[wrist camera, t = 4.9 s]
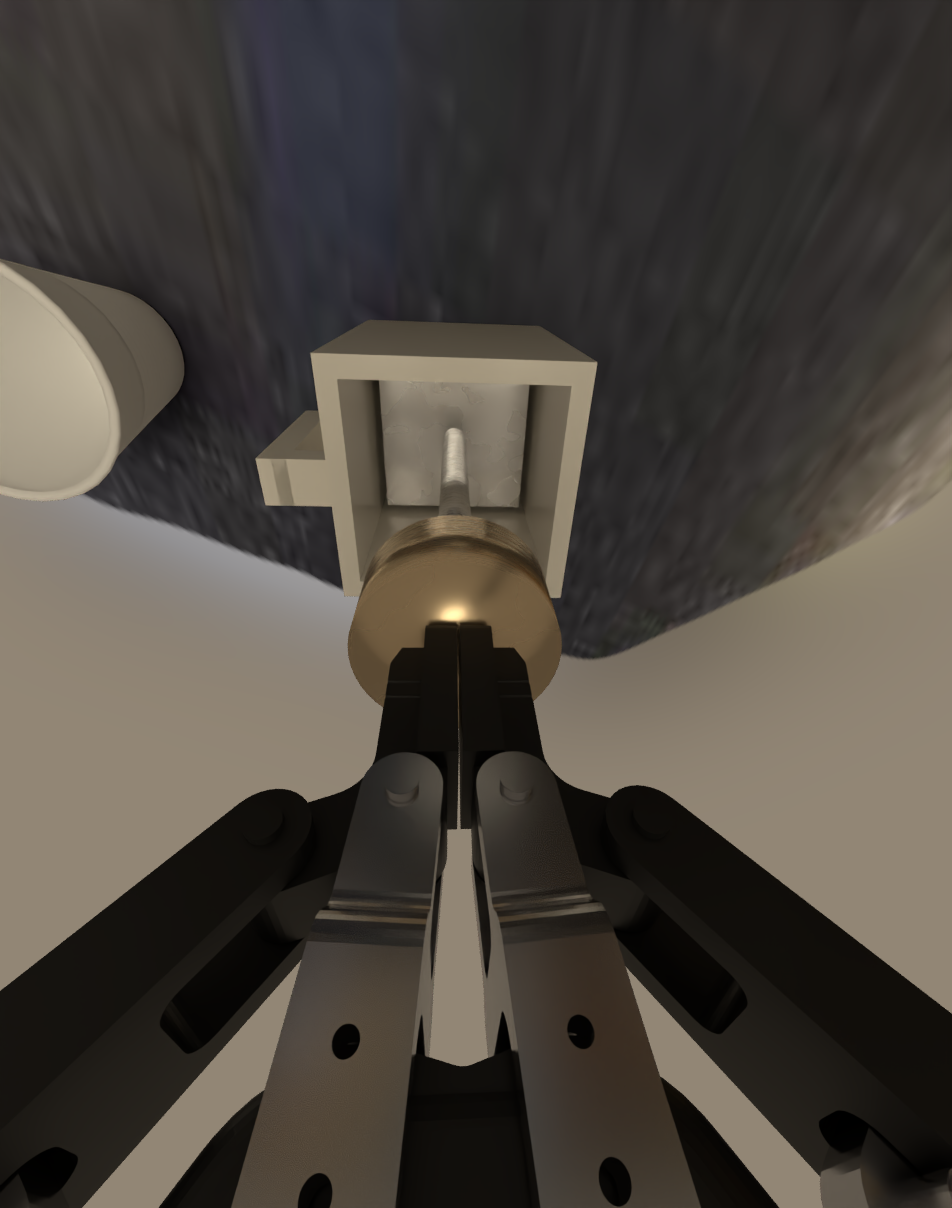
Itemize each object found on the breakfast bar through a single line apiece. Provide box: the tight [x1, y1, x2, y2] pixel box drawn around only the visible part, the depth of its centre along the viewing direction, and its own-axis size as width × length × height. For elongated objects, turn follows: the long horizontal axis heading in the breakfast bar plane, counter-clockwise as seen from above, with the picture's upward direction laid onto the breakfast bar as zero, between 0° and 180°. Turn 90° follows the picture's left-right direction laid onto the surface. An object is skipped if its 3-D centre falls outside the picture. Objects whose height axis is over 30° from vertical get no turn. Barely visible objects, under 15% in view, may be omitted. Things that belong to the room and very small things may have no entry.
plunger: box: [348, 380, 562, 728], centre depth 19 cm, size 8×8×19 cm
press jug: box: [255, 320, 597, 598], centre depth 26 cm, size 13×10×14 cm
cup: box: [0, 259, 184, 501], centre depth 24 cm, size 10×10×11 cm
